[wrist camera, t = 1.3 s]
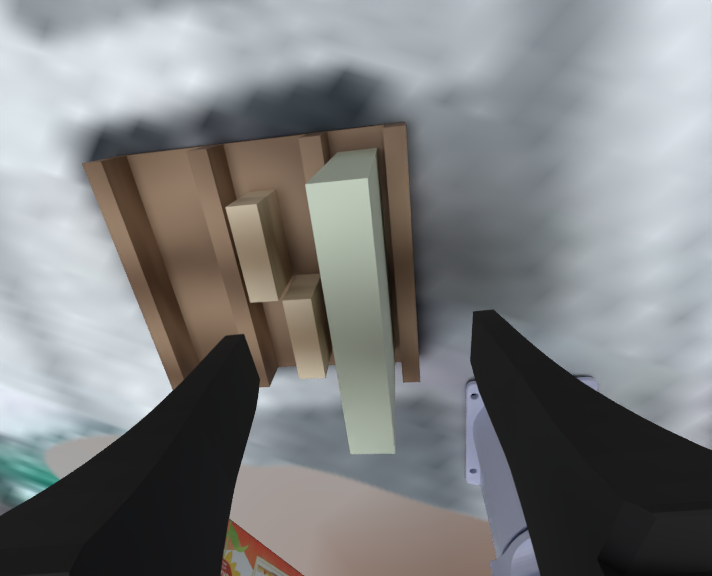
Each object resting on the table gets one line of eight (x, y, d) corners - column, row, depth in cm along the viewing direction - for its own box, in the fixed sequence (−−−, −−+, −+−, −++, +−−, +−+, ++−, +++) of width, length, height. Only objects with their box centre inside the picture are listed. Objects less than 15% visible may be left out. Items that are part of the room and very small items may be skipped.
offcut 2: (333, 345, 25) (325, 377, 22) (310, 346, 25) (299, 378, 22) (321, 273, 23) (310, 298, 20) (296, 274, 23) (282, 300, 20)
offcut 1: (292, 275, 23) (278, 300, 20) (268, 276, 23) (250, 302, 20) (275, 189, 21) (256, 203, 18) (248, 191, 21) (225, 207, 18)
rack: (417, 355, 25) (420, 381, 23) (192, 365, 27) (173, 390, 25) (404, 121, 19) (405, 125, 17) (116, 156, 21) (81, 163, 19)
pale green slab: (395, 349, 24) (395, 453, 17) (363, 350, 25) (350, 453, 18) (377, 147, 19) (367, 178, 12) (337, 152, 20) (305, 184, 12)
